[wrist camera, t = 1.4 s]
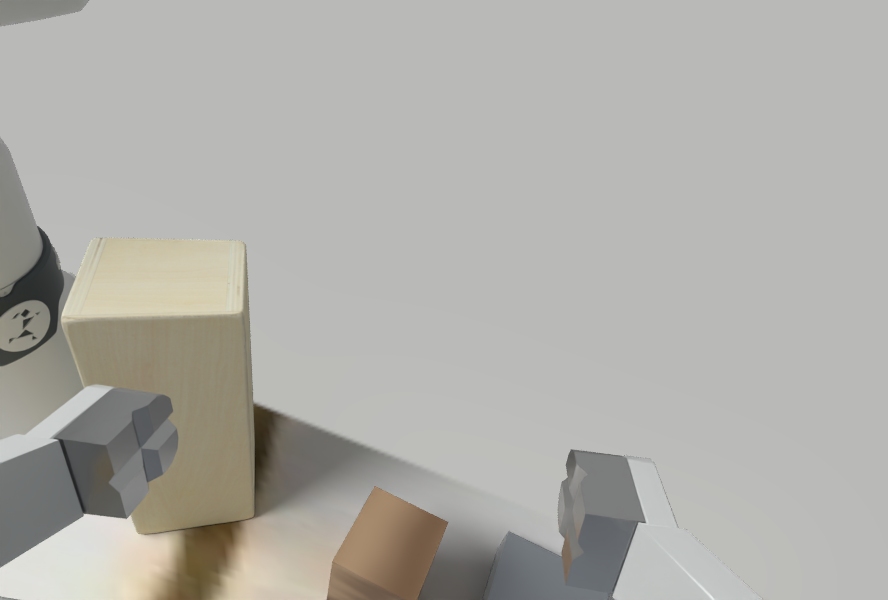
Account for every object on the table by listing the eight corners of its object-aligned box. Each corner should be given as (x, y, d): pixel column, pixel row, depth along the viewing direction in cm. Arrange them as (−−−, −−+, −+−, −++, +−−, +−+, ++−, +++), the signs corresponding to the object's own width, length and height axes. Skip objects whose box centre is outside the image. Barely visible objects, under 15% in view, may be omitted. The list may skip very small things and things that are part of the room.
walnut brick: (323, 624, 34) (332, 561, 28) (359, 555, 38) (374, 486, 32) (389, 661, 33) (414, 604, 27) (420, 586, 37) (448, 522, 31)
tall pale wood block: (257, 435, 44) (246, 231, 30) (257, 518, 38) (244, 316, 25) (152, 446, 41) (89, 228, 28) (137, 536, 36) (50, 322, 23)
